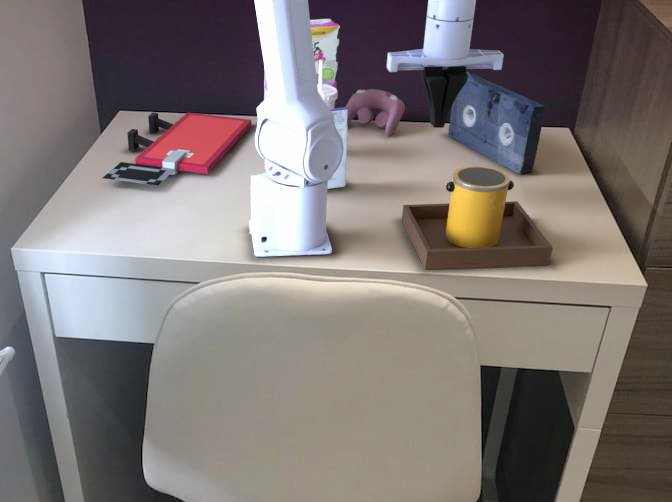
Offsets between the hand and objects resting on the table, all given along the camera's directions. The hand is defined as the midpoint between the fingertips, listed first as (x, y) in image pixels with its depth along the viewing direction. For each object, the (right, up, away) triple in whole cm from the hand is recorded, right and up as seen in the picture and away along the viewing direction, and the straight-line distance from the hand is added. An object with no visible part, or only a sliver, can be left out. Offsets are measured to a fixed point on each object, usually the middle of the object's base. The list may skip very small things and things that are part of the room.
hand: (437, 125), depth 111 cm
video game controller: (-5, +8, +28) cm, 30 cm away
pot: (+3, -13, -9) cm, 16 cm away
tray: (+3, -17, -6) cm, 18 cm away
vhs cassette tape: (+12, +1, +19) cm, 22 cm away
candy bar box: (-17, +8, +28) cm, 34 cm away
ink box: (-17, -7, +7) cm, 20 cm away
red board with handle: (-37, +1, +18) cm, 41 cm away
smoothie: (-15, +1, +19) cm, 24 cm away
